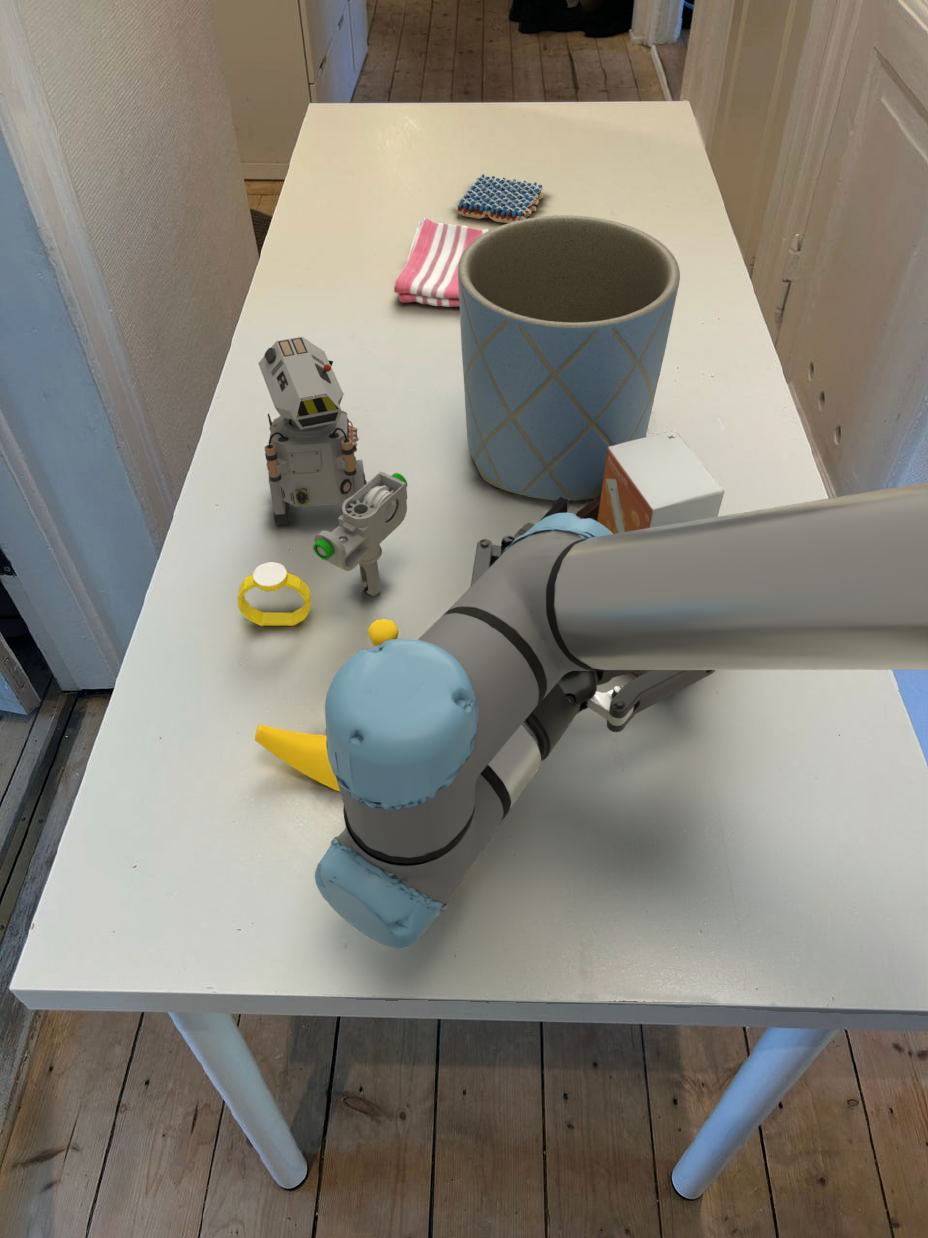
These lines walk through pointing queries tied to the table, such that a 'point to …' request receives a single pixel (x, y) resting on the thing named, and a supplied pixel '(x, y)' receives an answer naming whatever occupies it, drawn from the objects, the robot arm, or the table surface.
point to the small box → (656, 485)
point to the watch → (273, 579)
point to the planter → (561, 348)
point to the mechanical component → (365, 528)
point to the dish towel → (434, 264)
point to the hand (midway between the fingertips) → (638, 541)
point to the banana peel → (311, 748)
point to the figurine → (307, 430)
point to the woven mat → (500, 200)
